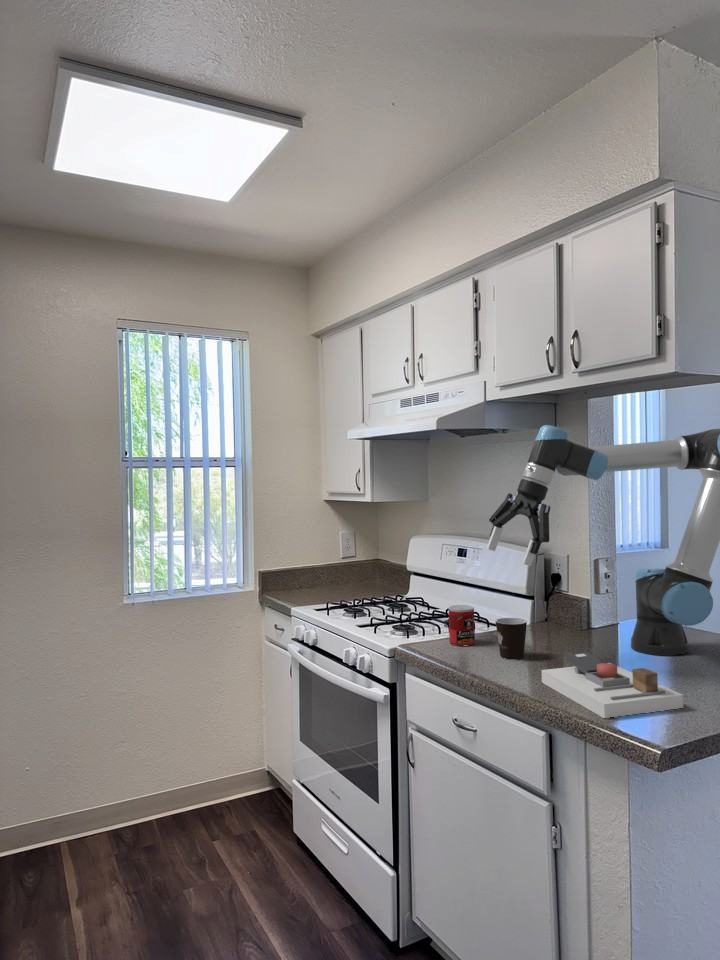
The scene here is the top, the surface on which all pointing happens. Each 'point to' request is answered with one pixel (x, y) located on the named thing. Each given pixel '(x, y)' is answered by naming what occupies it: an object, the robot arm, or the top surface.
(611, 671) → the red button
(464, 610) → the canned food
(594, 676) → the panel
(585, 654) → the tall dark grey panel
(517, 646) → the coffee mug
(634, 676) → the slider knob
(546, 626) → the top surface
